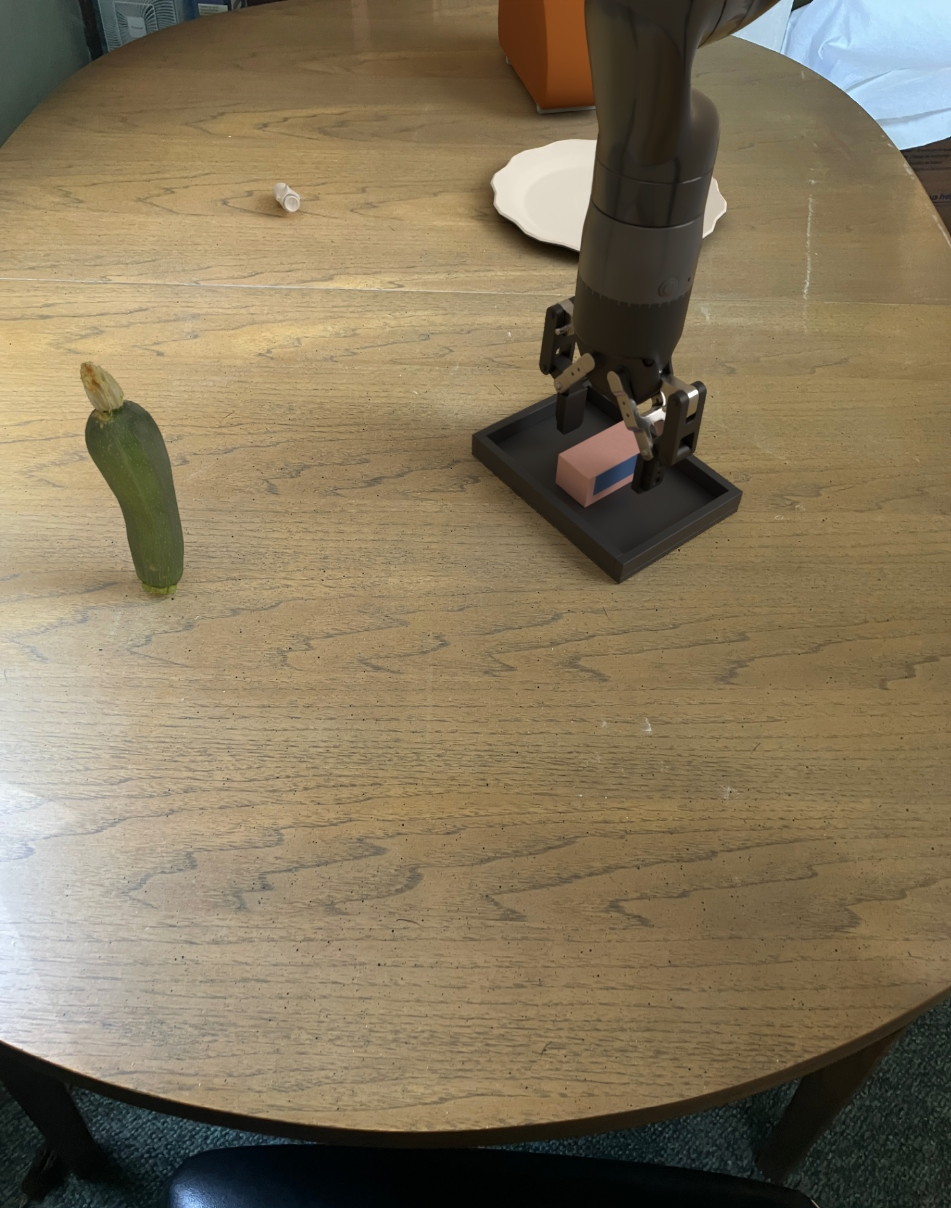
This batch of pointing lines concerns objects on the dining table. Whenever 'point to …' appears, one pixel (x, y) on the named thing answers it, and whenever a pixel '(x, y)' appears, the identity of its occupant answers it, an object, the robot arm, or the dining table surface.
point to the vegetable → (136, 479)
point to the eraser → (598, 464)
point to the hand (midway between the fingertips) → (605, 457)
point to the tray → (620, 519)
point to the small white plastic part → (286, 197)
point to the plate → (562, 192)
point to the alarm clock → (548, 51)
